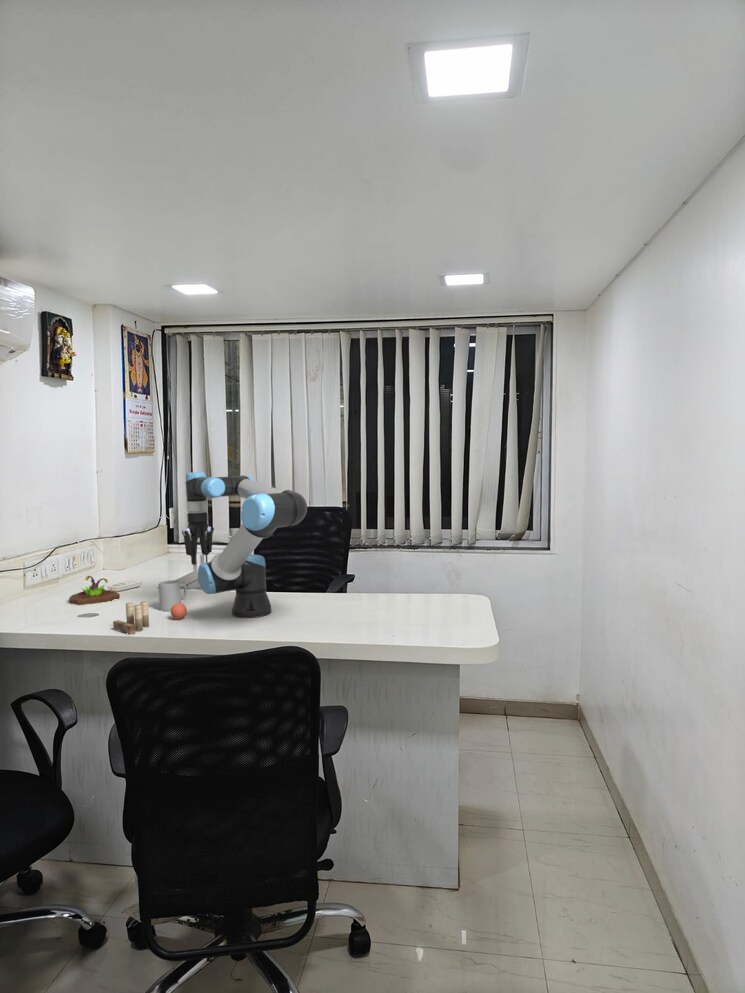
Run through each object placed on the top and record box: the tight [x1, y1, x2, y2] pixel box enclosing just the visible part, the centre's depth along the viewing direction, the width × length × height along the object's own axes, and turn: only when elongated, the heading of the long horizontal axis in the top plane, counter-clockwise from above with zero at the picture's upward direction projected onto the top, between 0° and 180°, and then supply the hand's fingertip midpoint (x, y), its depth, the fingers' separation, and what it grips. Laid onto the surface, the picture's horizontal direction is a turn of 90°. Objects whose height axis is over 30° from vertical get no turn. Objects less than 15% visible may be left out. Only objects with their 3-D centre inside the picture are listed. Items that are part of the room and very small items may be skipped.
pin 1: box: [125, 602, 135, 625], centre depth 237 cm, size 3×3×9 cm
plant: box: [69, 575, 121, 606], centre depth 288 cm, size 20×20×11 cm
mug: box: [158, 579, 188, 612], centre depth 267 cm, size 12×8×11 cm
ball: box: [170, 602, 188, 620], centre depth 248 cm, size 6×6×6 cm
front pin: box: [139, 601, 150, 628], centre depth 238 cm, size 3×3×9 cm
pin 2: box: [134, 604, 144, 632], centre depth 233 cm, size 3×3×9 cm
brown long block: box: [112, 619, 137, 635], centre depth 232 cm, size 12×2×3 cm, turn 48°
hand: (199, 571), depth 255 cm, fingers open, 3 cm apart
